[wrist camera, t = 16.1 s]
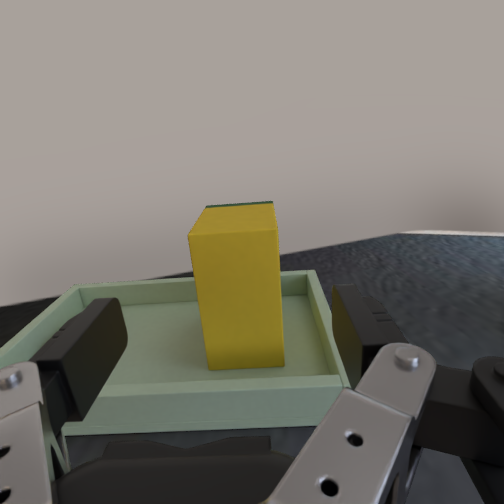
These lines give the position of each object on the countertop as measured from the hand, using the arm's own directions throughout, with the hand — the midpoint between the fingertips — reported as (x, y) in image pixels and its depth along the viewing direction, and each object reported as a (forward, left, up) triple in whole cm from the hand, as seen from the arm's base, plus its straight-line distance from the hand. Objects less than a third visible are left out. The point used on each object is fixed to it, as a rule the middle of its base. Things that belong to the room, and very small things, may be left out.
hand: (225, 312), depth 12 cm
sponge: (0, -9, -8) cm, 12 cm away
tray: (+5, -9, -8) cm, 13 cm away
